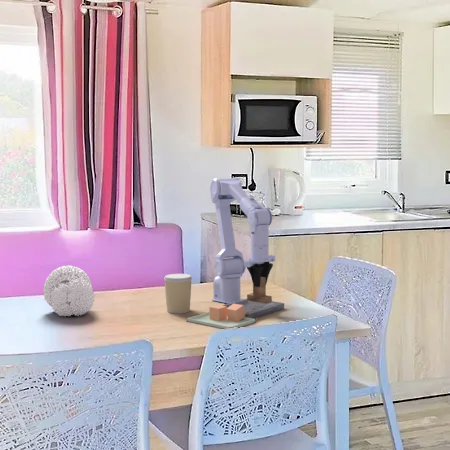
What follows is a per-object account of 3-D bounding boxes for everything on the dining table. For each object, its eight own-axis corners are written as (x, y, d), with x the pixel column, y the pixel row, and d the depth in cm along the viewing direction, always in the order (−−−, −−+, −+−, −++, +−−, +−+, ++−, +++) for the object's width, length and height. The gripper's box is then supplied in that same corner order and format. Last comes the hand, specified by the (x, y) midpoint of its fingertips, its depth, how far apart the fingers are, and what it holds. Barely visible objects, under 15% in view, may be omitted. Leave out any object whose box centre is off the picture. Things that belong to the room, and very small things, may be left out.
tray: (186, 321, 240) (186, 318, 240) (212, 313, 250) (212, 310, 250) (230, 330, 229) (230, 327, 229) (255, 322, 238) (255, 319, 238)
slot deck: (219, 314, 248) (219, 306, 248) (256, 304, 263) (256, 295, 263) (248, 320, 241) (248, 311, 240) (284, 308, 256) (284, 300, 256)
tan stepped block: (247, 300, 251) (247, 276, 250) (252, 298, 253) (252, 275, 252) (266, 303, 246) (266, 279, 245) (271, 302, 248) (271, 278, 247)
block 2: (228, 319, 241) (226, 308, 239) (235, 314, 244) (233, 303, 242) (237, 321, 238) (236, 310, 237) (245, 316, 241) (243, 305, 240)
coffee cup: (196, 308, 257) (195, 274, 256) (186, 314, 249) (185, 279, 247) (171, 306, 260) (170, 272, 259) (160, 312, 252) (159, 277, 250)
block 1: (217, 316, 245) (209, 319, 242) (217, 304, 244) (209, 307, 241) (226, 318, 242) (219, 321, 239) (226, 306, 242) (219, 308, 239)
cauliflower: (28, 286, 254) (57, 249, 251) (67, 302, 266) (95, 267, 263) (44, 323, 240) (75, 284, 237) (86, 338, 252) (115, 301, 249)
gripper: (256, 249, 239) (256, 290, 241) (282, 243, 250) (282, 283, 252) (238, 246, 244) (239, 287, 245) (265, 241, 255) (265, 281, 256)
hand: (259, 285), depth 249 cm, fingers closed on tan stepped block, 3 cm apart
